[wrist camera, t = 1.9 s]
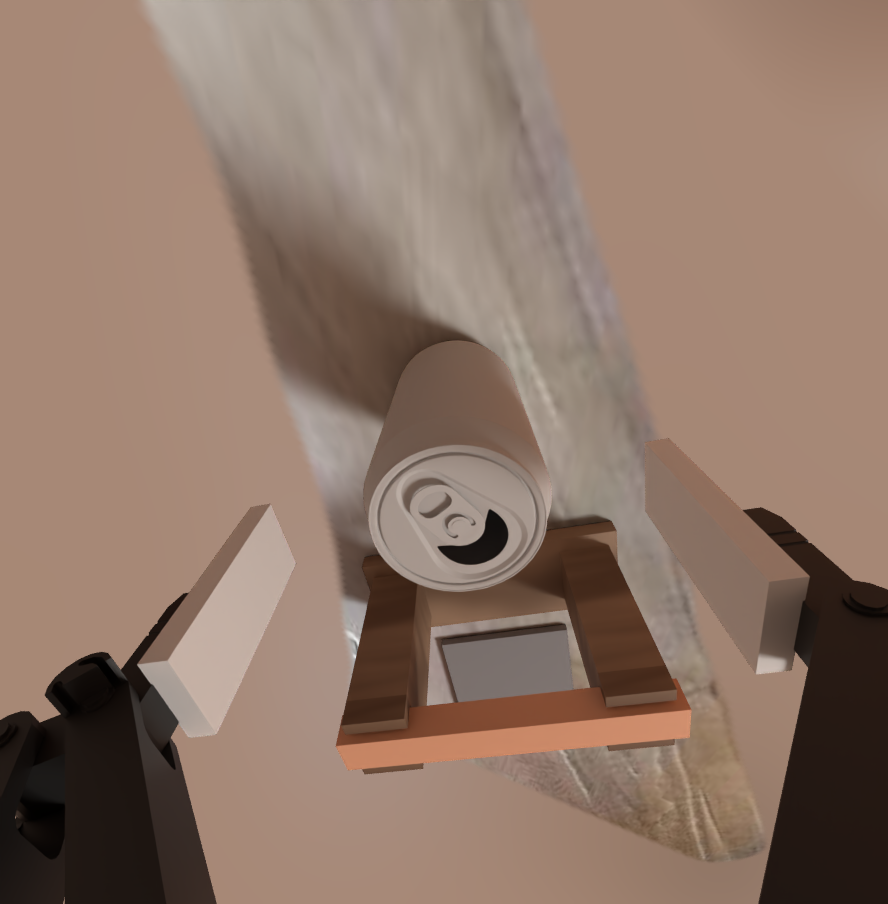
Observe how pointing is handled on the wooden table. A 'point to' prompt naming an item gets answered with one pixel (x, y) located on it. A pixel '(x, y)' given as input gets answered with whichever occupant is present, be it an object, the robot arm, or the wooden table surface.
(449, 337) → the wooden table surface
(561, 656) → the rubber mat
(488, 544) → the beverage can
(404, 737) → the crossbar
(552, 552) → the walnut stand
